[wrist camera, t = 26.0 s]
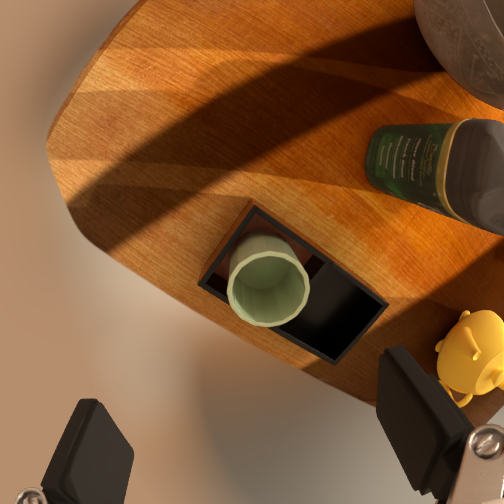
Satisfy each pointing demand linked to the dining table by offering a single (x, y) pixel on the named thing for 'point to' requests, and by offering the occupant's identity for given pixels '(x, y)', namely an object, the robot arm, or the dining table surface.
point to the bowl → (467, 43)
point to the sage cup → (266, 279)
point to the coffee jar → (443, 168)
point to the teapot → (472, 355)
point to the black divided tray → (320, 295)
